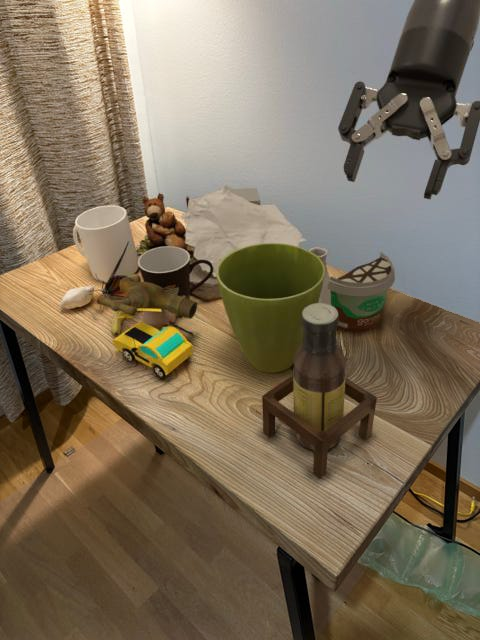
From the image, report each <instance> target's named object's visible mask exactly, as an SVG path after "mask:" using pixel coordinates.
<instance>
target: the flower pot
mask: <svg viewBox="0 0 480 640" xmlns="http://www.w3.org/2000/svg"><path fill="white" fill-rule="evenodd" d="M324 275H325V267H324V264H323V262H322V261H321V260H320V258H319V257H317V256H316V255H315V254H313V253H312V252H310V251H309V250H308V249H306V248H303V247H301V246H294V245H290V244H283V243H261V244H254V245H249V246H246V247H242V248H240V249H237V250H235V251H233V252H231V253H229V254H228V255H226V256H225V257H224V258H223V259H222V260H221V261H220V263H219V264H218V266H217V269H216V276H217V281H218V285H219V289H220V293H221V300H222V303H223V306H224V310H225V314H226V316H227V319H228V321H229V323H230V327H231V328H232V331H233V333H234V336H235V338H236V340H237V342H238V344H239V347H240V348H241V350H242V352H243V354H244V356H245V358H246V359H247V361H248V363H249V364H250V365H251V367H252V368H253V369H255V370H257V371H260V372H262V373H270V374H276V373H281V372H283V371H286V370H289V369H290V368H291V367H292V366H294V357H295V354H296V352H297V350H298V349H299V348H300V347H301V345H302V344H303V326H302V311H303V310H304V308H305V307H307V306H309V305H311V304H315V303H318V302H319V298H320V294H321V289H322V285H323V280H324Z"/></svg>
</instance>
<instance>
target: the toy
mask: <svg viewBox="0 0 480 640" xmlns="http://www.w3.org/2000/svg"><path fill="white" fill-rule="evenodd" d="M230 192H231V193H233V194H236V195H237V196H240V197H242V198H244V199H246V200H247V201H249V202H250V203H254V204H256V205H261V198H260V194H259V190H258V187H245V188H233V189H231V188H230Z"/></svg>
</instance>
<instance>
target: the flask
mask: <svg viewBox="0 0 480 640" xmlns="http://www.w3.org/2000/svg"><path fill="white" fill-rule="evenodd" d="M308 251H310V252H312V253H313V254H315V255H316V256H317V257H319V258H320V260H321V261H322V262H323V264H324V267H325V275H324V280H323V285H322V289H321V294H320V298H319V302H318V303H324V304H328V305H331V290H329V289H327V288H328V283H329V280H330V277H331V276H330V275H329V271H328V267H327V261H326V260H327V257H328V254H329V250H328V249H326V248H324V247H321V246H314V247H312V248H309V250H308Z"/></svg>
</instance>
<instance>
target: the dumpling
mask: <svg viewBox="0 0 480 640" xmlns="http://www.w3.org/2000/svg"><path fill="white" fill-rule="evenodd" d="M95 288H97V286H96V285H86V286H79V287H74V288H70V289H68V290H66V292H65V293H64V296H63V298H62V299H61V301H60V304H59V305H60V308H61V309H67V310H70V309H75V308H81V307H84V306H86V305H88V304H89V303H90V302H91V301H92V299H93V296H94V295H90V294H95Z"/></svg>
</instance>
